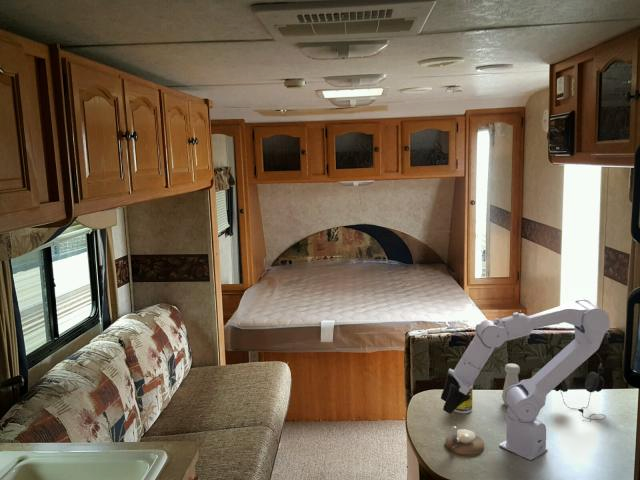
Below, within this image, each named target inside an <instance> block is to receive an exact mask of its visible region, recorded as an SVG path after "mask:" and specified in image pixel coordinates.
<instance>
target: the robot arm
mask: <svg viewBox="0 0 640 480" xmlns="http://www.w3.org/2000/svg"><path fill="white" fill-rule="evenodd" d="M610 319H611V318H610V316H609V314H608V312H607V311H606V310H605V309H602V308H600V307H598V306H596V305H595V304H593V303H592V302H591V301H589V300H587V299H585V298H584V299H577V300H575V301H574V300H570V301H567V302H566V303H564V304H562V305H559V306H556V307H553V308H552V307H551V308H549V309H546V310H543V311H541V312H538V313H535V314H530V315H526V314H525V313H522V312H521V313H519V312H517V311H516V312H513V313H512V315H509V316H505V317H503V318H498V317H495V318H494V321H493V320H489V319H486V320H483V321H481V322H480V323H479V324H476V327H475V335H474V337H473V338H472V340H471V341H470V343H469V344H468V345H467V348H466V349H465V351H464V353H463V354H462V355H461V358H460V360H459V361H458V363H457V364H456V366H455V368H454V369H452V368H450V367H449V369H448V372H447V373H446V379H445V382H444V387H443V390H442V392H441V395H440V399H441V400H442V401H444V402H445V403H444V405H443V408H442V410H443V412H446V413H447V414H452V413H453V412H455V411H454V410H455V409H456V408H457V407H458V406H459V405H460V404H462V403H463V402H465V401H467V400H469V399H470V398H471V397H470V395H469V394H467V393H468V391H469V390H470V387H472V388H473V385H474V382H475V381H476V379H477V377H478V375H479V374H480V373H481V371H482V369H483V367H484V366H485V365H486V363H487V361H488V359H489V358H490V356H491V355H492V353H493V351H494V349H495V348H500V347H501V346H502V345H503V344H504V343H505V342H507V341H510V340H511V341H512V340H516V339H519V338H522V337H526V336H529V335H531V333H532V332H533V331H534V330H535V329H540V328H544V327H548V326H554V325H557V324H563V323H566V324H568V325H572V326H574V335H575V336H574V339H573V340H571V342H570V343H568V344H567V345H566V346H565V347H563V349H562V351H561V350H560V351H561V352H560V351H559V352H560V353H559V352H558V353H557V354H556V355H555V356H554V357H553V358H552V359H550V361H548V362H547V363H546V364H545V365H544V366H543V367H542V368H540V369H539V370H538V371H537V372H536V373H535V374H534V375H533V376H531V378H527V379H521V380H519V383H518V384H516V385H512V386H510V387H508V388H507V390H506V391H505V394H504V398H505V401H506V403H507V404H508V407H507V410H506V426H505V427H506V428H505V429H506V434H505V435H506V436H505V439H506V440H503V442H500V443H499V447H500V448H503V449H505V450H507V451H509V452H512V453H514V454H516V455H518V456H520V457H522V458H525V459H527V460H530V461H532V460H534V459H536V458H537V457H539V456H540V455H542V454H543V453H545V452H547V451H548V447H547V427H546V424H545V423H544V422H541V420H539V419H538V418H537V417H538V416H539V413H540V411H541V410H542V408H544V407H545V405H546V399H547V396H548V394H550V392H552V391H553V390H554V388H555V387H556V386H557V385H558V384H559V383H561V382H562V381H563V380H564V379H565V380H566V378H567V377H569V375H571V374H572V373H573V372H574V371H575V370H576V369H578V367H581V366H582V364H583V363H584V362H585V361H587V360H588V359H589V358H590V357H591V356H592V355H593V354H595V353H596V352H597V351H598V350H599V349H600V346H601V344H602V342H603V339H604V336H605V335H606V333H607V332H608V331H609V330H610V329H611V321H610ZM595 351H596V352H595Z"/></svg>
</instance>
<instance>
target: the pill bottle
mask: <svg viewBox="0 0 640 480" xmlns="http://www.w3.org/2000/svg"><path fill="white" fill-rule="evenodd" d="M467 394H469V395H470V397H471V398H470V399H469V400H467V401H465V402H463V403H462V404H460V405H459V406H458V407H457V408H456V409H455V410H454V411H453V412H455V413H457V414H464V415H465V414H469V413H471V412H472V411H473V386H472V387H470V390H469V391H468V393H467Z"/></svg>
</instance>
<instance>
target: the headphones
mask: <svg viewBox="0 0 640 480" xmlns="http://www.w3.org/2000/svg"><path fill="white" fill-rule="evenodd" d="M562 350H563V349H562ZM562 350H560V351H559V352H558V353H560V352H561V351H562ZM594 353H595V354H596V355H597V356H598V358H599V360H600V361H599V366H598V367H597V369H596V370H597V372H595V371H591V372H589V373H588V374H587V376H586V378H585V381H584V388H585V390H586V392H589V393H590V394H589V395H591V394H592V393H595V392H597V393H599V392H601V391H602V390H603V388H604V386H605V379H604V377H603V376H601V375H602V374H604V371H605V368H604V367H603V359H602V357H601V356H600V354H599V353H598V352H597V351H595V352H594ZM600 374H601V375H600ZM553 390H554V391H555V392H559V391H560V393H561V396H562V401H563V403H564V405H565V406H566V407H567V408H569V409H571V410H572V409H574V410H576V408H573V407H569V406H567V404H566V403H565V401H564V396H563V393H566V392H568V390H569V388H568V384H567V382H566V378H565V379H564V380H563V381H562V382H561V383H559V384H558V385H557V386H556V387H555V388H554V389H553ZM562 392H563V393H562ZM590 397H591V396H589V397H588V401H590ZM589 405H590V402H588V404H587V406H586V407H584V406H582V407H581V409H579V408H577V410H578V411H580V412H581V413H582V417H583V418H585V419H587V420H589V422H591V421H592V418H590V417H586V416H584V415H583V414H584V409H587V408H588V407H589ZM583 408H584V409H583ZM593 415H594V416H595V413H593V414H591V416H593ZM600 415H601V416H604V418H599V419H598V418H594V420H599V421H602V420H605V417H606V415H605V414H604V413H603V414H602V413H600ZM585 419H582V422H585Z"/></svg>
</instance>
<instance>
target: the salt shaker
mask: <svg viewBox="0 0 640 480" xmlns="http://www.w3.org/2000/svg"><path fill="white" fill-rule="evenodd" d="M520 369H521V367H520V366H519V365H518V364H516V363H513V362H512V363H507V364H505V366H504V371H505V373H506V376H505V380H504V385H503V389H502V393H501V398H502V400H503V403H504V405H505V406H506V407H507V408H508V404H507V403H506V401H505V398H504V394H505V391H506V390H507V388H508V387H510V386H512V385H516V384H518V383H519V382H520V380H519V374H520V371H521V370H520Z"/></svg>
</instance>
